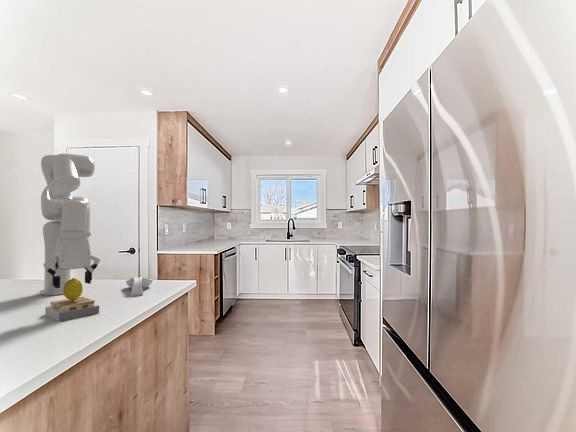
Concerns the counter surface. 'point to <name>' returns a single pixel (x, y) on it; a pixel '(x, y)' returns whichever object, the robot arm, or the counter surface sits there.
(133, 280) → the spoon rest
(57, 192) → the robot arm
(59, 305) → the pallet
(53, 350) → the counter surface
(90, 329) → the counter surface
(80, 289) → the lemon
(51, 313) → the dock
